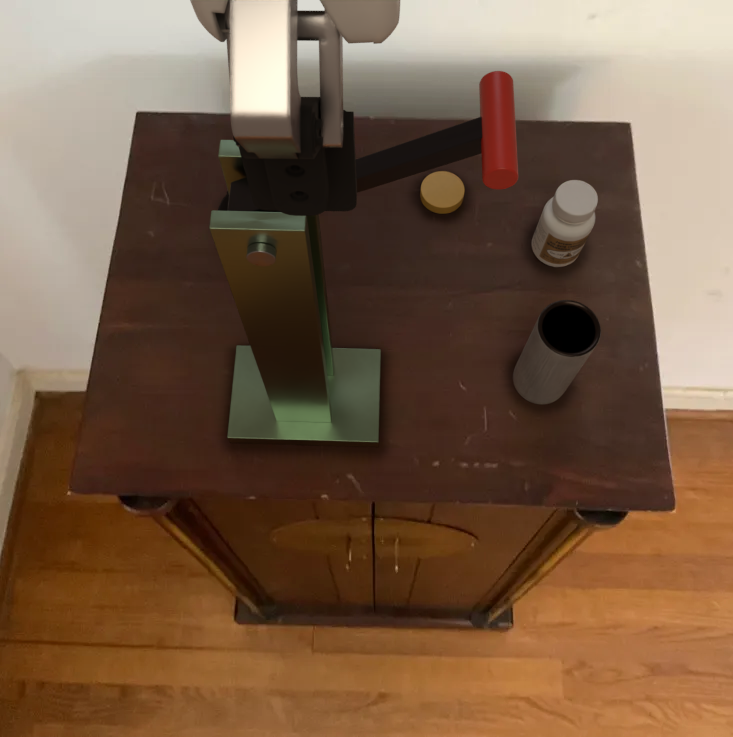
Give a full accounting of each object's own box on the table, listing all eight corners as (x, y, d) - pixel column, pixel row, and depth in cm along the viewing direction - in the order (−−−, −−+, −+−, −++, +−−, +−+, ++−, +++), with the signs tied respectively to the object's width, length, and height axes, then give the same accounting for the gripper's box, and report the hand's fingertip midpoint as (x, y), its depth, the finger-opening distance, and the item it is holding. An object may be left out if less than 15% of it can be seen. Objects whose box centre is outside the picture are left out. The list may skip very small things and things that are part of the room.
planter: (571, 362, 65) (606, 308, 55) (560, 411, 63) (595, 364, 54) (518, 348, 65) (544, 292, 56) (506, 396, 64) (531, 347, 54)
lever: (521, 93, 33) (502, 57, 32) (527, 190, 32) (506, 158, 30) (262, 183, 40) (232, 158, 38) (254, 267, 38) (222, 245, 36)
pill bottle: (540, 273, 68) (561, 226, 61) (523, 232, 70) (541, 181, 62) (587, 262, 68) (613, 213, 61) (569, 221, 70) (592, 169, 63)
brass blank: (447, 170, 72) (448, 164, 71) (471, 201, 71) (473, 194, 70) (411, 189, 71) (412, 183, 70) (436, 221, 70) (437, 214, 69)
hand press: (380, 356, 65) (391, 118, 37) (378, 447, 62) (388, 261, 34) (239, 352, 65) (145, 112, 38) (230, 443, 62) (120, 255, 35)
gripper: (538, -530, 7) (426, 313, 23) (477, -1019, 13) (423, -97, 29) (-285, -523, 7) (174, 309, 23) (49, -1010, 13) (226, -98, 29)
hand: (313, 81), depth 26 cm, fingers open, 9 cm apart
